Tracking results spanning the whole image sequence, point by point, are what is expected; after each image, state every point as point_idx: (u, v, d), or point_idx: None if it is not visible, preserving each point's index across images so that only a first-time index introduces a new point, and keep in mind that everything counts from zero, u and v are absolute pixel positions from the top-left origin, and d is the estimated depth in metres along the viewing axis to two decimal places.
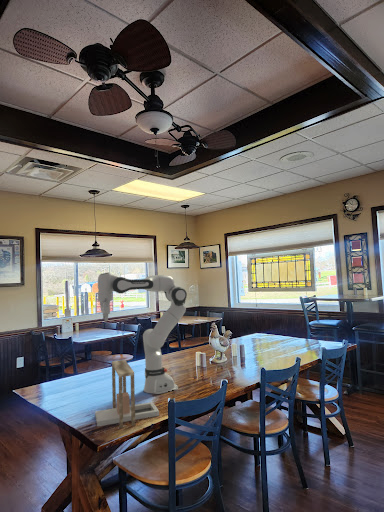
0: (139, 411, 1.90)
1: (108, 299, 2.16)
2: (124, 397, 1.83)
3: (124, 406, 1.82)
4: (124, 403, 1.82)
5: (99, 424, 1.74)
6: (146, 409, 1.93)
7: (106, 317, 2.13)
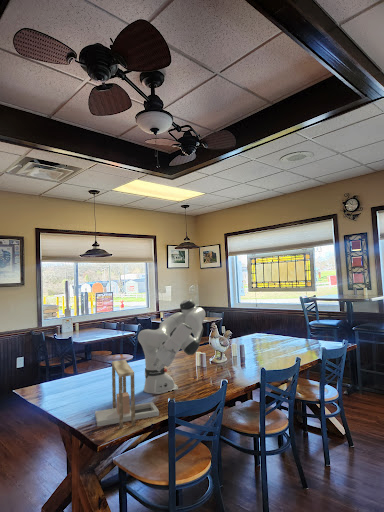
0: (139, 411, 1.90)
1: (174, 352, 1.92)
2: (124, 397, 1.83)
3: (124, 406, 1.82)
4: (124, 403, 1.82)
5: (99, 424, 1.74)
6: (146, 409, 1.93)
7: (160, 367, 1.87)
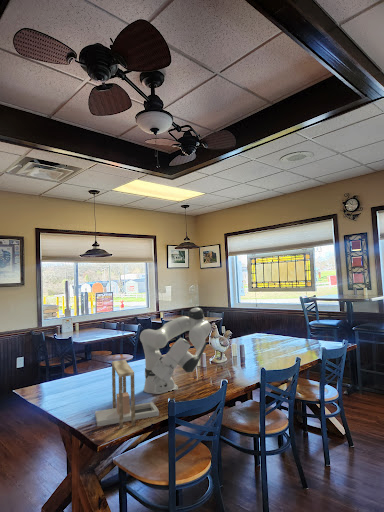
0: (139, 411, 1.90)
1: None
2: (124, 397, 1.83)
3: (124, 406, 1.82)
4: (124, 403, 1.82)
5: (99, 424, 1.74)
6: (146, 409, 1.93)
7: (156, 381, 1.88)
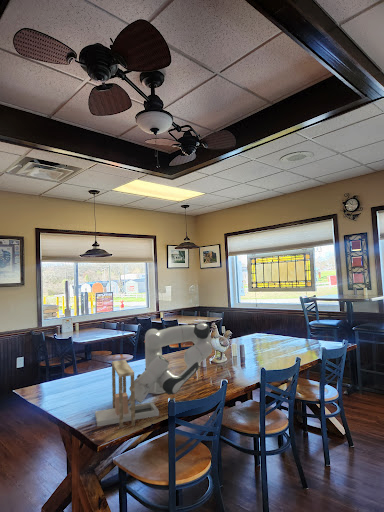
0: (139, 411, 1.90)
1: (148, 386, 1.86)
2: None
3: None
4: None
5: (99, 424, 1.74)
6: (146, 409, 1.93)
7: None
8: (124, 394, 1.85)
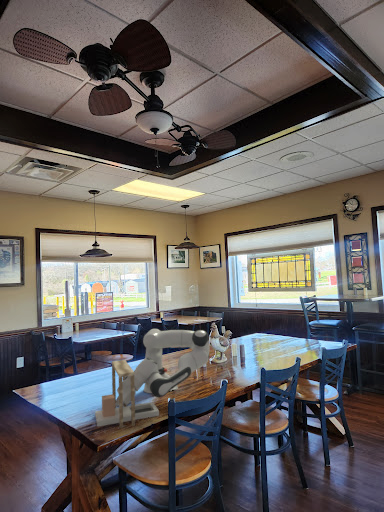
0: (139, 411, 1.90)
1: (135, 388, 1.84)
2: (109, 399, 1.80)
3: (109, 408, 1.80)
4: (109, 405, 1.80)
5: (99, 424, 1.74)
6: (146, 409, 1.93)
7: (118, 402, 1.82)
8: (111, 396, 1.83)
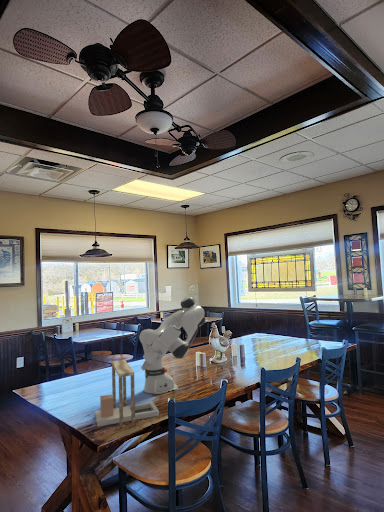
0: (139, 411, 1.90)
1: (161, 353, 1.90)
2: (108, 399, 1.80)
3: (108, 409, 1.79)
4: (108, 406, 1.80)
5: (99, 424, 1.74)
6: (146, 409, 1.93)
7: (145, 366, 1.89)
8: (109, 396, 1.83)
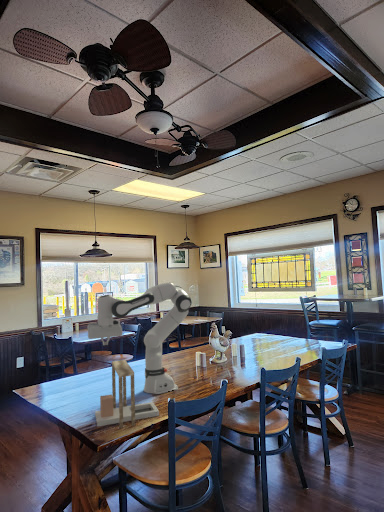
0: (139, 411, 1.90)
1: (98, 323, 2.06)
2: (108, 399, 1.80)
3: (108, 409, 1.79)
4: (108, 406, 1.80)
5: (99, 424, 1.74)
6: (146, 409, 1.93)
7: (102, 341, 2.07)
8: (109, 396, 1.83)
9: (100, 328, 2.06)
